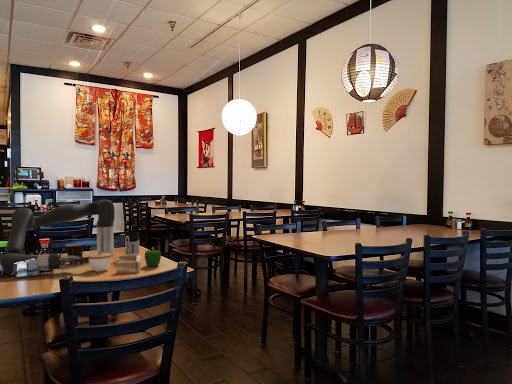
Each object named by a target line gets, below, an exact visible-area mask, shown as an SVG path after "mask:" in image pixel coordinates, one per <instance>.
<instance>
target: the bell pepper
mask: <svg viewBox="0 0 512 384" xmlns="http://www.w3.org/2000/svg"><path fill="white" fill-rule="evenodd" d="M144 259H145V260H144V261H145V264H146V266H147V267H157V266H159V264H160V262H161V259H162V252H161V250H160V249H157V250H156V249H155V247H154V246H153V247H152V248H151V250H149V249H148V250H146V251H145V253H144Z"/></svg>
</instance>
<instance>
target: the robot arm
mask: <svg viewBox="0 0 512 384" xmlns="http://www.w3.org/2000/svg"><path fill="white" fill-rule="evenodd" d="M115 212H116V210H115V204H114V203H113V201H111V200H109V199H100V200H96V201H92V202H88V203H76V204H73V203H72V204H67V205H66V204H65V205H60V206H59V205H58V206H56V207H55V208H53V209H51V210H49V211H48V212H46V213H45V214H41V215H38V216H34V214H33V211H32V210H31V209H30V208H28V207H19V208H17V209H15V210H14V211H13V213H12V226H11V232H10V233H9V238H8V240H7V241H8V242H7V243H9V244H8V245H7V244H6V247H5V252H4V253H5V254H3V255H1V257H0V267H1V269H2V271H4V272H5V273H6V274H5V273H4V272H3V273H4V274H5V275H7V274H8V275H7V276H13V275H12V273H13V265H14V263H16V262H19V261H25V260H28V259H31V258H34V259H36V260H37V263H38V269H39V270H38V271H51V270H53V271H54V270H60V269H61V268H62V266H65V267H68V266H74V265H78V263H80V262H82V263H89V260H88V256H83V257H79V256H72V255H70V256H68V255H65V256H64V257H63V256H62V254H61V253H59V252H58V253H44V254H43V253H42V254H33V255H31V254H30V255H28V254H24V253H23V250H24V246H25V242H26V231H28V230H32V229H37V228H40V227H45V226H48V225H55V224H59V223H65V222H72V221H76V220H79V219H82V218H85V217H89V216H96V215H97V217H98V220H97V222H96V253H99V251H101V253H110V254H111V256H113V255H114V251H115V250H114V249H115V248H114V247H115V245H114V223H115ZM80 264H81V263H80Z"/></svg>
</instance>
